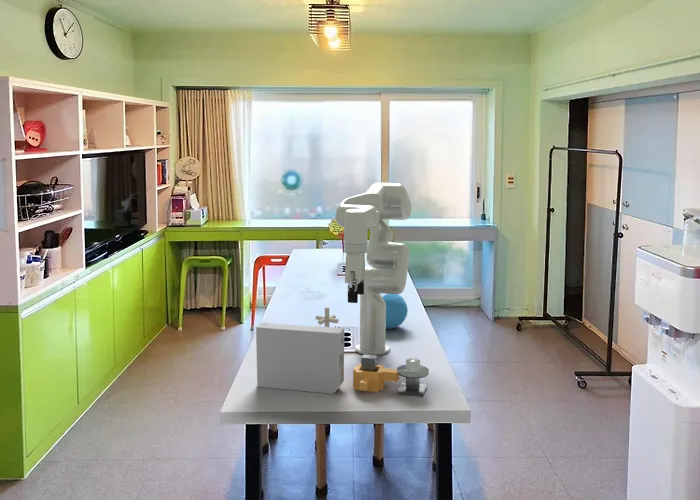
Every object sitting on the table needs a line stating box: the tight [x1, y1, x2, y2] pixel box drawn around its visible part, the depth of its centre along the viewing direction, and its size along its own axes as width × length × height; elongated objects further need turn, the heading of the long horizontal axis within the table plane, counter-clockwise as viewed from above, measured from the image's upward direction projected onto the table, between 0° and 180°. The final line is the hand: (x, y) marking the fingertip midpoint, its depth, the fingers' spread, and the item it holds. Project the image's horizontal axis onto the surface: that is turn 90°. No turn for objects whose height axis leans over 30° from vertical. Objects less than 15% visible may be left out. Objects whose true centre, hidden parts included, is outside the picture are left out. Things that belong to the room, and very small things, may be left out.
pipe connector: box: [315, 306, 339, 327], centre depth 280 cm, size 10×10×10 cm
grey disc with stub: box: [396, 357, 430, 398], centre depth 218 cm, size 10×10×10 cm
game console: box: [255, 322, 345, 395], centre depth 220 cm, size 6×27×20 cm, turn 77°
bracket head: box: [352, 363, 400, 393], centre depth 219 cm, size 12×14×6 cm
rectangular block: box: [360, 354, 378, 372], centre depth 222 cm, size 3×4×10 cm
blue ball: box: [382, 294, 409, 330], centre depth 285 cm, size 16×19×15 cm
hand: (356, 298), depth 228 cm, fingers open, 9 cm apart
